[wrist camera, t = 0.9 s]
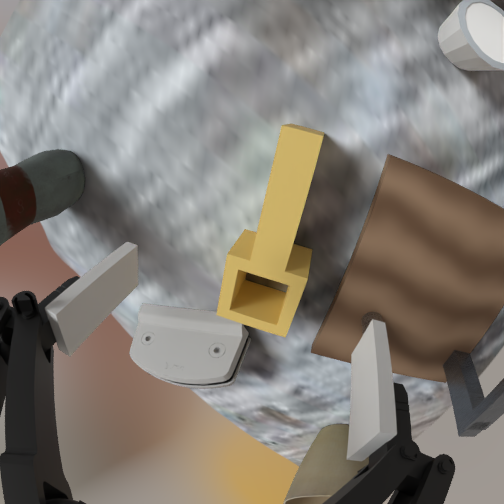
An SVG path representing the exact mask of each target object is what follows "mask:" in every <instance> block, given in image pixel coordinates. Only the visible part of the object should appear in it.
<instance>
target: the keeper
mask: <svg viewBox="0 0 504 504" xmlns="http://www.w3.org/2000/svg"><path fill="white" fill-rule="evenodd" d="M443 368H444V372H445V376H446V379H447V383H448V387H449V391H450V396H451V400H452V404H453V409H454V414H455V419H456V424H457V429H458V435H459V436H476V435H477V434H478V433H480V432H481V431H482V430H486V429H487V428H488V427H489V426H490V425H491V424H493V422H495V421H496V420H497V419H498V418H499V417H500V416H501V415H502V414H503V413H504V379H503V380H502V381H501V382H500V383H499V384H498V385H497V386H496V387H495V388H494V389H493V390H492V392H491V393H490V394H489V395H488V396H487V397H486V398H484V395H483V392H482V389H481V385H480V382H479V379H478V376H477V373H476V370H475V368H474V365H473V362H472V359H471V357H470V354H469V353H466V352H462V351H457V350H454V351H453V352H452V354H451V355H450V356H449V358H448V359H447V360H446V361H445V363H444V364H443Z"/></svg>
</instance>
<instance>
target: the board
mask: <svg viewBox="0 0 504 504" xmlns="http://www.w3.org/2000/svg"><path fill="white" fill-rule="evenodd" d="M503 306H504V209H503V208H502V207H500V206H498V205H496V204H495V203H493V202H491V201H489V200H488V199H486V198H484V197H482V196H480V195H478V194H476V193H474V192H473V191H471V190H469V189H467V188H465V187H463V186H461V185H459V184H457V183H455V182H453V181H450V180H448V179H446V178H444V177H442V176H440V175H438V174H435V173H433V172H431V171H429V170H426V169H424V168H422V167H419V166H417V165H415V164H412V163H410V162H407V161H405V160H402V159H400V158H397V157H395V156H392V155H389V154H388V155H387V158H386V162H385V165H384V168H383V171H382V174H381V177H380V180H379V183H378V186H377V189H376V192H375V195H374V198H373V201H372V204H371V207H370V210H369V212H368V215H367V218H366V221H365V223H364V226H363V229H362V231H361V234H360V237H359V239H358V242H357V244H356V247H355V249H354V252H353V254H352V257H351V259H350V262H349V264H348V267H347V269H346V271H345V274H344V276H343V278H342V281H341V283H340V285H339V288H338V290H337V292H336V295H335V297H334V299H333V301H332V304H331V306H330V308H329V310H328V312H327V315H326V317H325V319H324V321H323V323H322V325H321V327H320V329H319V331H318V334H317V336H316V338H315V340H314V342H313V344H312V349H311V353H314V354H318V355H321V356H325V357H329V358H333V359H337V360H340V361H344V362H348V363H351V354H352V353H353V351H354V349H355V348H356V346H357V345H358V343H359V341H360V340H361V338H362V322H361V320H362V317H363V316H364V315H365V314H366V313H368V312H378V313H380V314H381V316H382V319H383V322H385V325H386V331H387V337H388V344H389V351H390V359H391V367H392V373H396V374H401V375H406V376H411V377H416V378H422V379H427V380H433V381H438V382H444V383H446V382H447V379H446V376H445V372H444V368H443V364H444V363H445V361H446V360H447V359H448V358H449V356H450V355H451V354H452V352H453V351H454V350H457V351H462V352H466V353H469V354H470V353H471V352H472V350H473V349H474V348H475V346H476V345H477V344H478V342H479V341H480V340H481V338H482V337H483V336H484V334H485V333H486V331H487V330H488V328H489V327H490V326H491V324H492V323H493V321H494V320H495V318H496V317H497V315H498V314H499V312H500V310H501V309H502V307H503Z"/></svg>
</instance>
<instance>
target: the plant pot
mask: <svg viewBox="0 0 504 504" xmlns="http://www.w3.org/2000/svg"><path fill="white" fill-rule="evenodd" d="M348 437H349V425H347V424H334V425H329V426H326V427H324V428H323V429H321V431H320V432H319V434H318V435H317V437H316V438H315V440H314V442H313V443H312V445H311V447H310V448H309V450H308V452H307V454H306V456H305V457H304V459H303V461H302V463H301V465H300V467H299V469H298V471H297V473H296V475H295V478H294V479H293V482H292V484H291V487H290V489H289V491H288V493H287V496H286V498H285V501H284V504H322V503H324V502H325V501H326V500H327V499H329V498H330V497H331V496H332V495H334V494H335V493H336V492H337V491H338V490H340V489H341V488H342V487H343V486H344V485H345V484H347V483H348V482H349V481H350V480H351V479H352V478H353V477H354V476H355V475H357V474H358V472H357V471H359V470H360V469H362V468H363V467H365V466H366V465H368V464H369V459H368V458H366V459H365V460H363V461H354V460H347V449H348Z"/></svg>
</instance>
